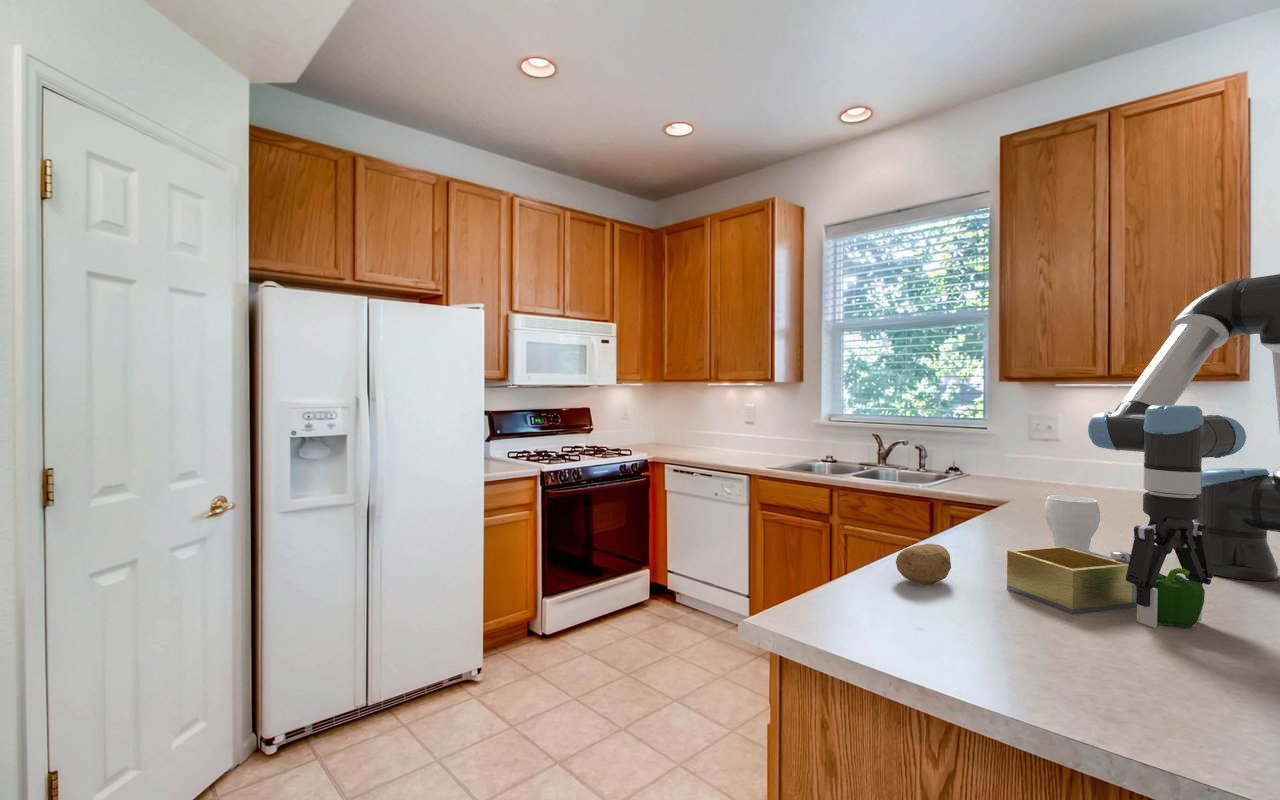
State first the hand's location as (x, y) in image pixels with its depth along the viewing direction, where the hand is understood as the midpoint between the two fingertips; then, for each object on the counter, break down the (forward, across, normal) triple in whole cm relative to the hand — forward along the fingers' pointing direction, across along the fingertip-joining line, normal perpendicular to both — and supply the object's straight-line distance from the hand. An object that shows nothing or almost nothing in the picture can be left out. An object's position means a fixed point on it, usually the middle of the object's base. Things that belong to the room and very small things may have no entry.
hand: (1169, 621), depth 104 cm
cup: (0, -18, -33) cm, 38 cm away
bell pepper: (+1, 0, 0) cm, 1 cm away
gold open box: (0, +4, -14) cm, 14 cm away
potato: (+1, +26, -29) cm, 39 cm away
